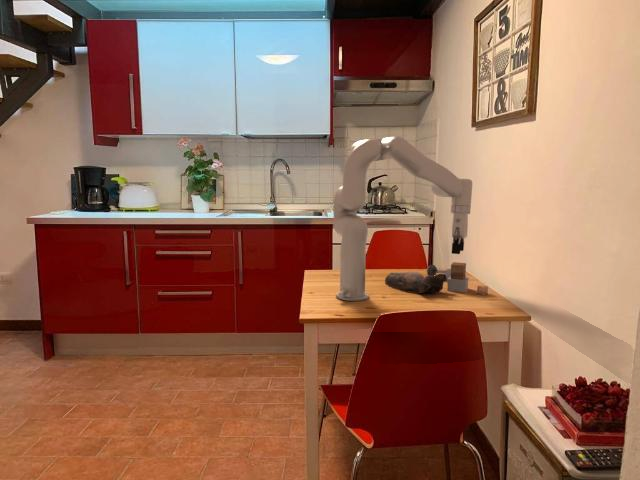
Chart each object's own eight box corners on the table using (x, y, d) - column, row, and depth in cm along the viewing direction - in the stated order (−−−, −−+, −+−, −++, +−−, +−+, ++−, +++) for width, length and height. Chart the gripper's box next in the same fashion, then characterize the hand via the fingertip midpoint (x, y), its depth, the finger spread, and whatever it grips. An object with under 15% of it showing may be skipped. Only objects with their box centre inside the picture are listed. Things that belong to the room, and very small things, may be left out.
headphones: (439, 281, 204) (472, 284, 214) (441, 268, 203) (474, 271, 213) (412, 274, 219) (444, 276, 229) (414, 261, 219) (446, 265, 228)
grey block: (465, 292, 190) (465, 280, 189) (447, 291, 193) (447, 278, 192) (467, 288, 196) (468, 277, 195) (450, 287, 199) (450, 275, 198)
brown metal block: (463, 280, 190) (463, 265, 189) (450, 278, 192) (451, 264, 191) (465, 277, 195) (466, 263, 194) (452, 276, 197) (453, 262, 196)
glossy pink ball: (487, 295, 185) (487, 288, 185) (476, 294, 187) (476, 287, 186) (488, 293, 189) (488, 285, 188) (477, 292, 190) (478, 284, 190)
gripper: (467, 211, 180) (464, 256, 183) (472, 209, 196) (469, 250, 198) (447, 210, 183) (444, 254, 186) (454, 208, 199) (451, 248, 201)
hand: (457, 252), depth 192 cm, fingers open, 9 cm apart
